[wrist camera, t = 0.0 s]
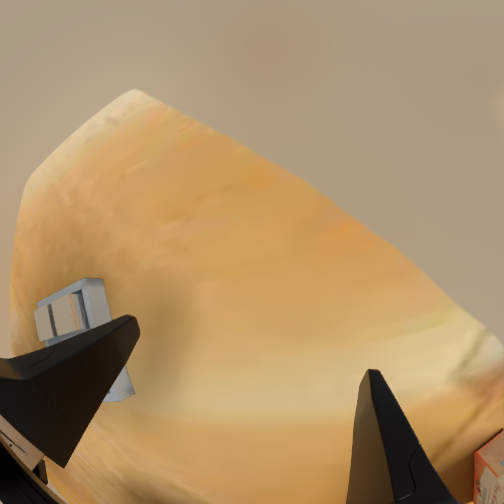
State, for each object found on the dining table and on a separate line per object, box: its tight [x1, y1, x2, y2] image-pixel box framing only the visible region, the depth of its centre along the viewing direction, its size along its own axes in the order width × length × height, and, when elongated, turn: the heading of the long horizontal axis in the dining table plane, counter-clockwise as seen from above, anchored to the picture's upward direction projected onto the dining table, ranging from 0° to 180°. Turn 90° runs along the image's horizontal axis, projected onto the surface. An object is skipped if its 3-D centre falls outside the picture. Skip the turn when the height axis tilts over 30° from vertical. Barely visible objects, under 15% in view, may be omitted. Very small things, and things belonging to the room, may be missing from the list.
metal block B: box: [33, 304, 77, 341], centre depth 26 cm, size 4×4×4 cm
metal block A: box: [51, 294, 90, 336], centre depth 26 cm, size 4×4×4 cm
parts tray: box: [37, 278, 135, 402], centre depth 27 cm, size 14×12×3 cm
